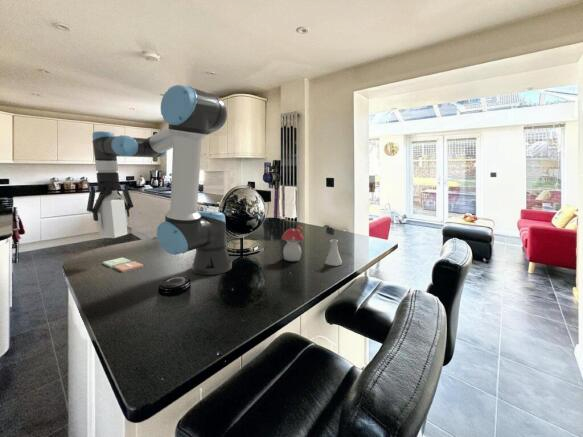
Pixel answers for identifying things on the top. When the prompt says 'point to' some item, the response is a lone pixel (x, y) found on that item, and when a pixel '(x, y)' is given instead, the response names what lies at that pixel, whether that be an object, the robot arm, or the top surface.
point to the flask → (333, 255)
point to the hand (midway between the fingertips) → (113, 226)
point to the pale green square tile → (116, 262)
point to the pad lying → (128, 266)
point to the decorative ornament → (292, 244)
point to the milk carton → (113, 216)
